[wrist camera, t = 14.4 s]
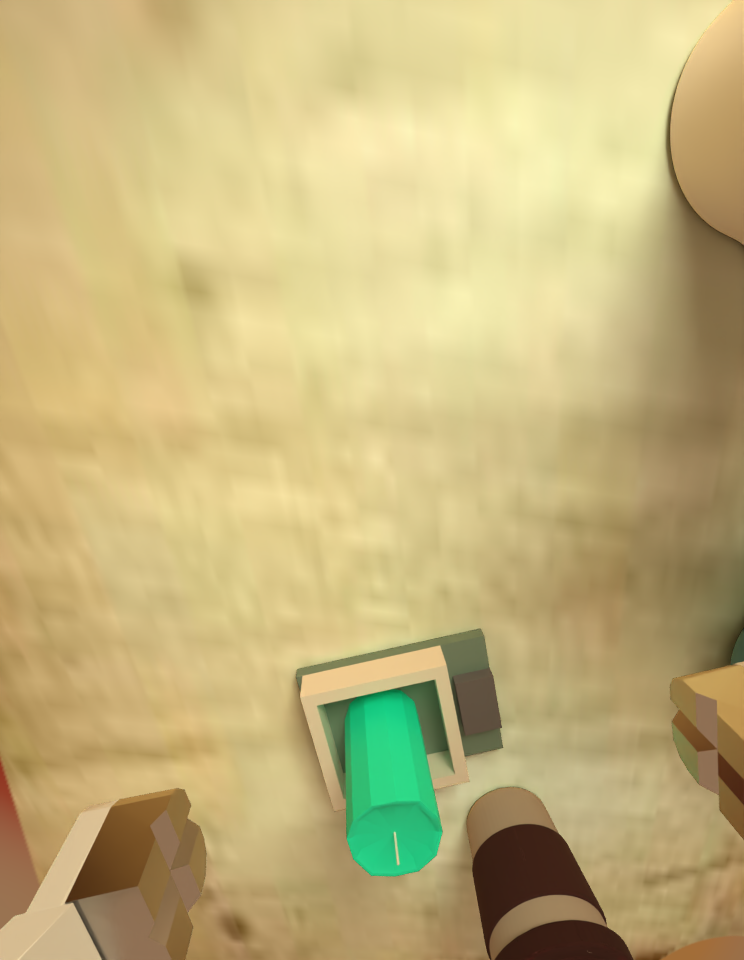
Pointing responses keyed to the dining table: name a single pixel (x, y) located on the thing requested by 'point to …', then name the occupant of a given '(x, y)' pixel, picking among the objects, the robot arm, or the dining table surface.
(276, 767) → the dining table surface
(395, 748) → the candle
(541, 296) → the dining table surface
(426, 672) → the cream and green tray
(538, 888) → the coffee cup
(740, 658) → the casserole dish
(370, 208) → the dining table surface
